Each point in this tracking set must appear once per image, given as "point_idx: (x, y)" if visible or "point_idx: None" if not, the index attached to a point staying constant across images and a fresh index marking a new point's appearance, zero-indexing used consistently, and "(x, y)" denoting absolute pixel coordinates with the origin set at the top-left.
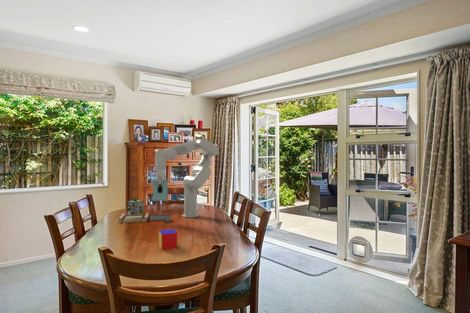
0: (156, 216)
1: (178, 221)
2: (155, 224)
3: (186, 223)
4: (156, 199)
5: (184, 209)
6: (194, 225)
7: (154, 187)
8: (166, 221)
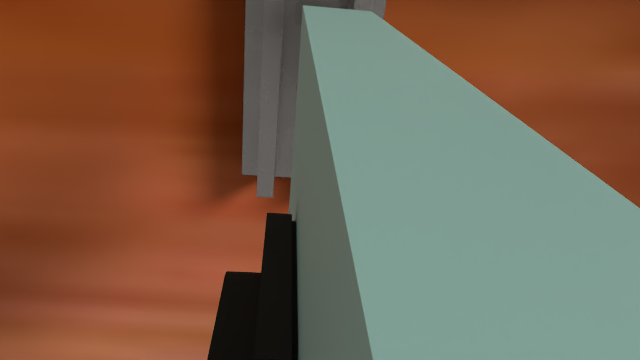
0: (263, 36)
1: (257, 239)
2: (149, 11)
3: (164, 293)
4: (297, 99)
5: None
6: (84, 339)
7: (313, 189)
8: (243, 136)
